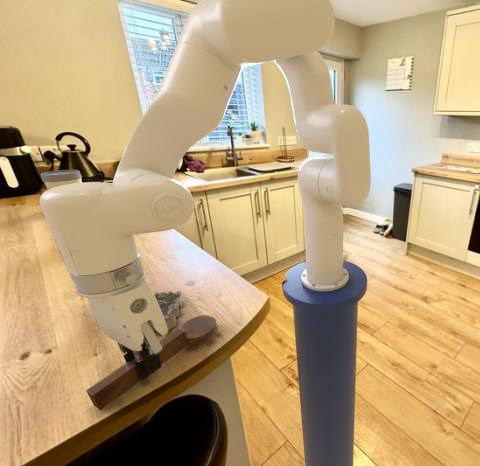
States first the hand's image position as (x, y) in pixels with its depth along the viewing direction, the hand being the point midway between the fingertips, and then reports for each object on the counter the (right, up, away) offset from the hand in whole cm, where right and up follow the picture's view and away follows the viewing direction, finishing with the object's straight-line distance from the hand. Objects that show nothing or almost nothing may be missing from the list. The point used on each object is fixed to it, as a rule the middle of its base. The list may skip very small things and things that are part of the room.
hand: (146, 369), depth 47 cm
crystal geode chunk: (-6, +4, +13) cm, 15 cm away
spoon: (+1, +1, +3) cm, 3 cm away
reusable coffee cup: (-91, +34, +82) cm, 127 cm away
